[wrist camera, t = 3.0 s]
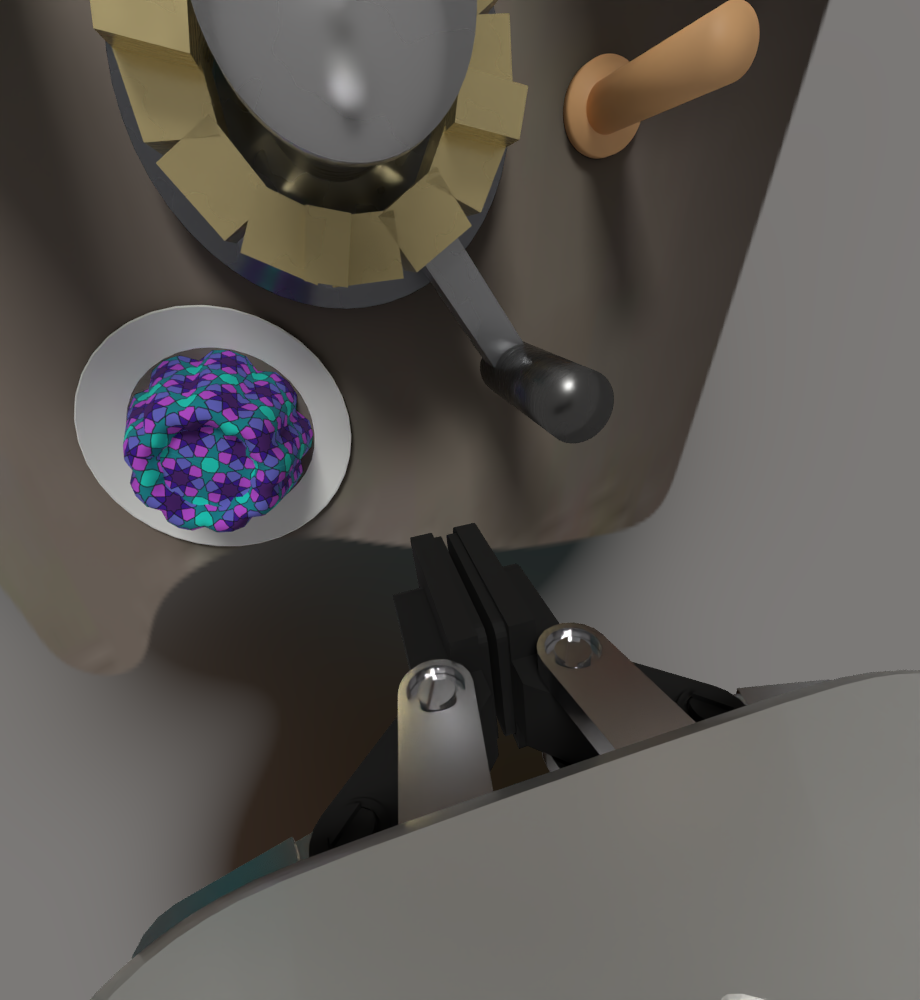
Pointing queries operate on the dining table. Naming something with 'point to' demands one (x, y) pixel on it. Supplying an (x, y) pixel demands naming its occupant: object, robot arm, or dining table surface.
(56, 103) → the dining table surface
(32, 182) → the dining table surface
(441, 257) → the segmented ring with handle
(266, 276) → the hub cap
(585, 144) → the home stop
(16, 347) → the dining table surface
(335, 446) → the pudding
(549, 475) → the dining table surface
